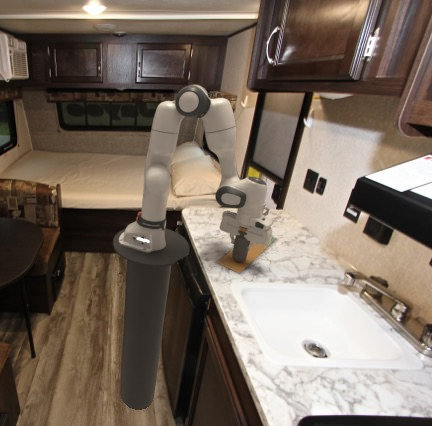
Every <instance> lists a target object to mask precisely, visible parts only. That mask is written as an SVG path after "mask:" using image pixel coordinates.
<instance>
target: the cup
mask: <svg viewBox="0 0 432 426" xmlns="http://www.w3.org/2000/svg"><path fill="white" fill-rule="evenodd" d="M265 210H266V211H265ZM270 210H271V209H270V208H269V207H268V206H267V202H266V201H265V202H264V204H263V206H262V215H264V216H265V217H267V216H268V215H269V213H270ZM264 211H265V212H264Z"/></svg>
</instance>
